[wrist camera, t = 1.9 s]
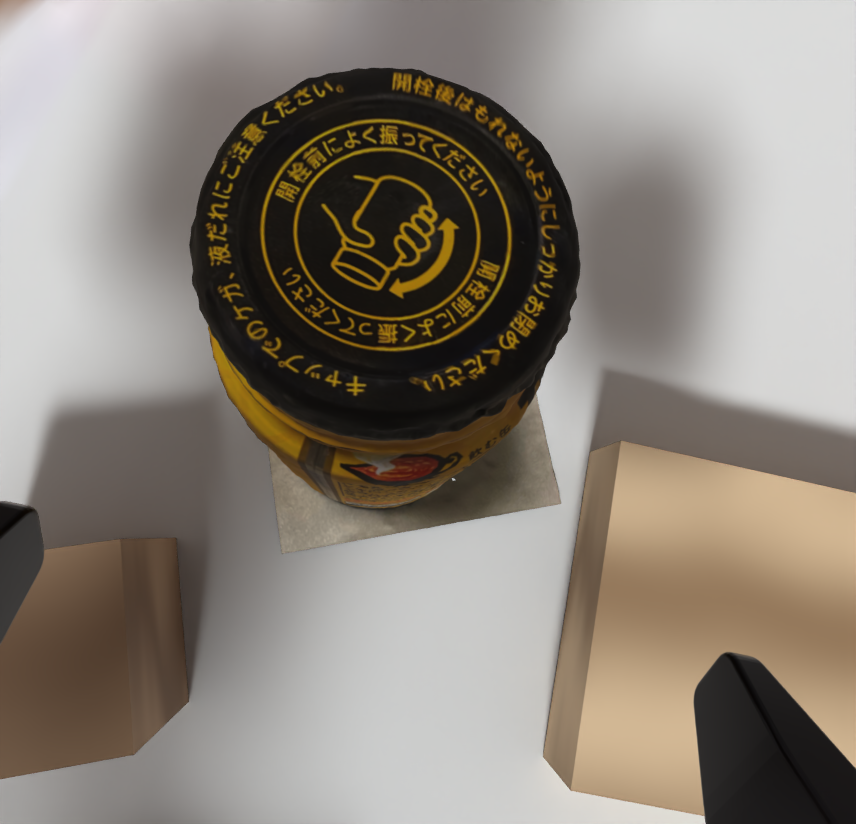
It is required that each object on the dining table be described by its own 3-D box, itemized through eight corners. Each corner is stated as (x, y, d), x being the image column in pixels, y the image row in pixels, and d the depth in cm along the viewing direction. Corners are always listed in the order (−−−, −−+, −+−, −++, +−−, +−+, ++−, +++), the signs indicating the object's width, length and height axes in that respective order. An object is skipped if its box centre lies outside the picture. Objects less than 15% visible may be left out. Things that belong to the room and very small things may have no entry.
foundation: (994, 843, 19) (1239, 963, 14) (543, 757, 18) (617, 847, 13) (999, 543, 21) (1217, 545, 16) (589, 452, 20) (672, 421, 15)
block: (189, 700, 18) (133, 754, 14) (17, 731, 17) (-99, 797, 13) (176, 538, 19) (120, 538, 14) (11, 561, 18) (-100, 570, 14)
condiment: (250, 318, 20) (94, 14, 8) (512, 284, 21) (697, -28, 9) (282, 554, 19) (151, 584, 7) (558, 504, 20) (837, 460, 8)
